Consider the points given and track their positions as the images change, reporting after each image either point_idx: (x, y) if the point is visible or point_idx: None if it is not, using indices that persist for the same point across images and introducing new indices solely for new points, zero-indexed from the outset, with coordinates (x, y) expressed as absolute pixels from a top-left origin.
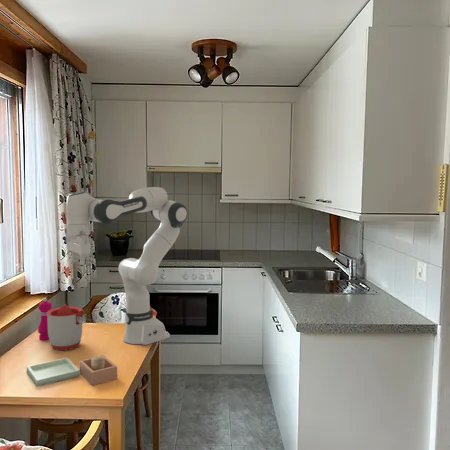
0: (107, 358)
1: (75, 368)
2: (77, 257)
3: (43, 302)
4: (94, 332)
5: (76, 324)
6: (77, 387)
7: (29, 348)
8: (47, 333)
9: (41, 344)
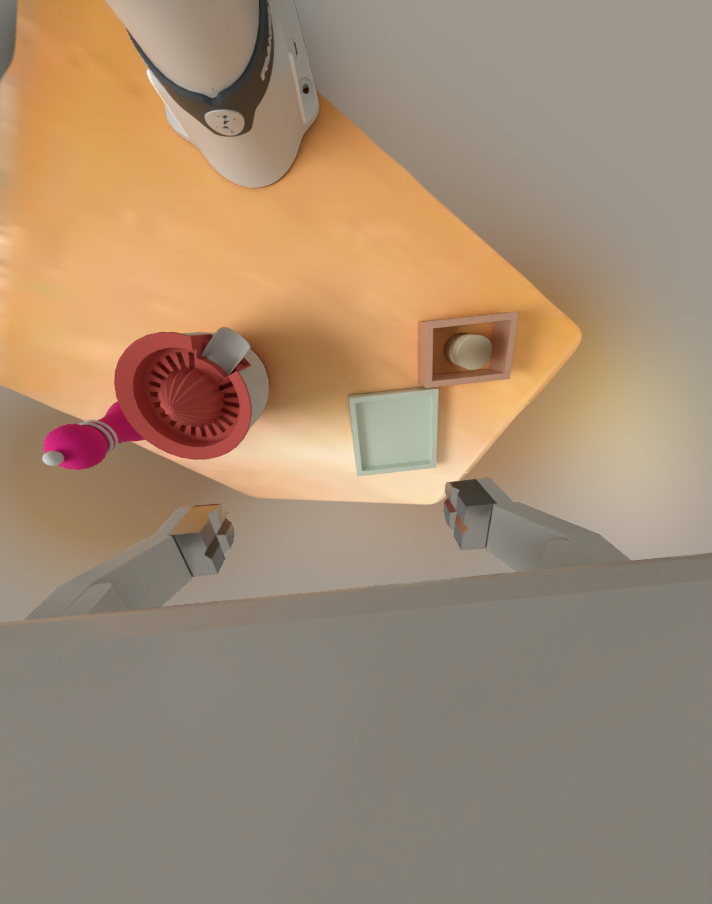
0: (454, 319)
1: (424, 394)
2: (197, 533)
3: (72, 461)
4: (122, 263)
5: (250, 365)
6: (482, 401)
7: None
8: None
9: None
